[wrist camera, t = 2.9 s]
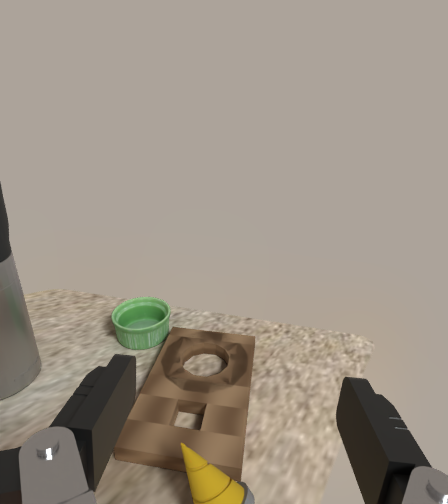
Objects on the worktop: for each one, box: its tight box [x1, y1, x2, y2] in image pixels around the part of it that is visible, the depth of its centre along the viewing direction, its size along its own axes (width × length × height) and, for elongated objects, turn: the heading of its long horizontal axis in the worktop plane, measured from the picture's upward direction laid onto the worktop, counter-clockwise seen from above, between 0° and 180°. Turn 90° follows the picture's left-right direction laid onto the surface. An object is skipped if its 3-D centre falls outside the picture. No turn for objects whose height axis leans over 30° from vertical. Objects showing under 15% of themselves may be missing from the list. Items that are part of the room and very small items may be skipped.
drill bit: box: [181, 443, 254, 504], centre depth 27 cm, size 5×5×10 cm
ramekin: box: [111, 297, 170, 350], centre depth 51 cm, size 9×9×4 cm
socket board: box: [114, 327, 255, 482], centre depth 41 cm, size 13×20×2 cm, turn 171°
